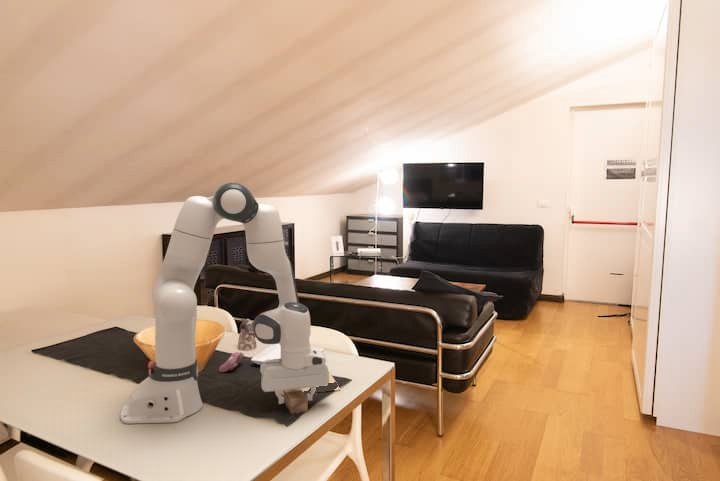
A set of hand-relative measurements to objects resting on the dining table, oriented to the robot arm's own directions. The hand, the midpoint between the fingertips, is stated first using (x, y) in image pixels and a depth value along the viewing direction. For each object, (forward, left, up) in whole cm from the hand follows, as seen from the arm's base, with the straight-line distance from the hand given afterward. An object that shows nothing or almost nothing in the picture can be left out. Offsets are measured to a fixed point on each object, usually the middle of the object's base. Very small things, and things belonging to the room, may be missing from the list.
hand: (295, 401), depth 156 cm
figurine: (-10, +57, -2) cm, 58 cm away
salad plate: (+4, +39, -2) cm, 39 cm away
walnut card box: (0, 0, -2) cm, 2 cm away
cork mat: (+6, +16, -2) cm, 17 cm away
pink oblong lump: (-17, +36, -2) cm, 40 cm away
